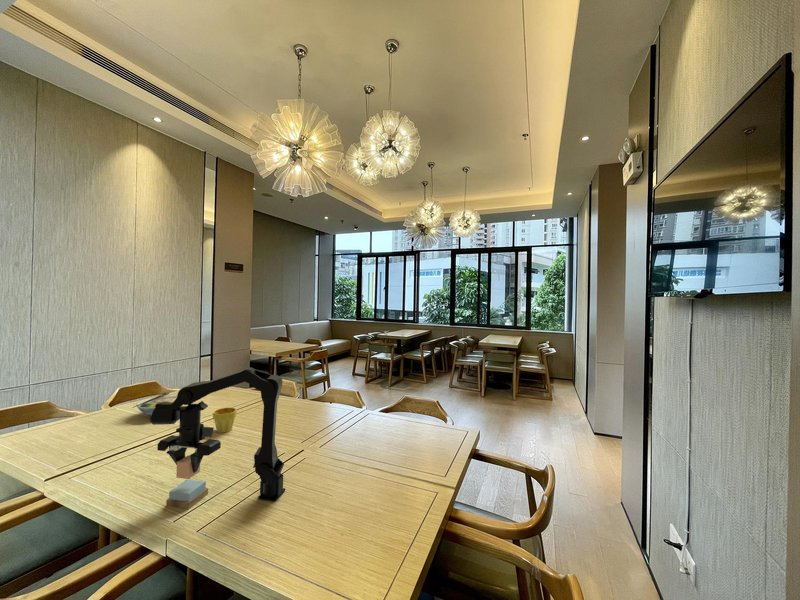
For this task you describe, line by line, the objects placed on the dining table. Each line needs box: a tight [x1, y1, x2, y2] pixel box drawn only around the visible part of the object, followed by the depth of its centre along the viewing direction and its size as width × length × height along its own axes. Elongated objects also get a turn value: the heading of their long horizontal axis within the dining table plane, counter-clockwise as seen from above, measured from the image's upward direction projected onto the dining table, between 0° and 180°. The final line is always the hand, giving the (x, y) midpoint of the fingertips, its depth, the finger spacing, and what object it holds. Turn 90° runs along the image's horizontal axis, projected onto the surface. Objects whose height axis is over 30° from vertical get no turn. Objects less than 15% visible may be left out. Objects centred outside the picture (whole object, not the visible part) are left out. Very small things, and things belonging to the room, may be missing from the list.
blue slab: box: [168, 479, 207, 502], centre depth 104 cm, size 7×7×2 cm
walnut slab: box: [165, 487, 209, 510], centre depth 104 cm, size 8×8×2 cm
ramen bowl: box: [131, 392, 178, 416], centre depth 179 cm, size 25×23×8 cm
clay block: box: [176, 454, 201, 480], centre depth 104 cm, size 4×4×5 cm
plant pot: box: [212, 406, 238, 434], centre depth 160 cm, size 10×10×10 cm
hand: (188, 471), depth 104 cm, fingers closed on clay block, 4 cm apart
